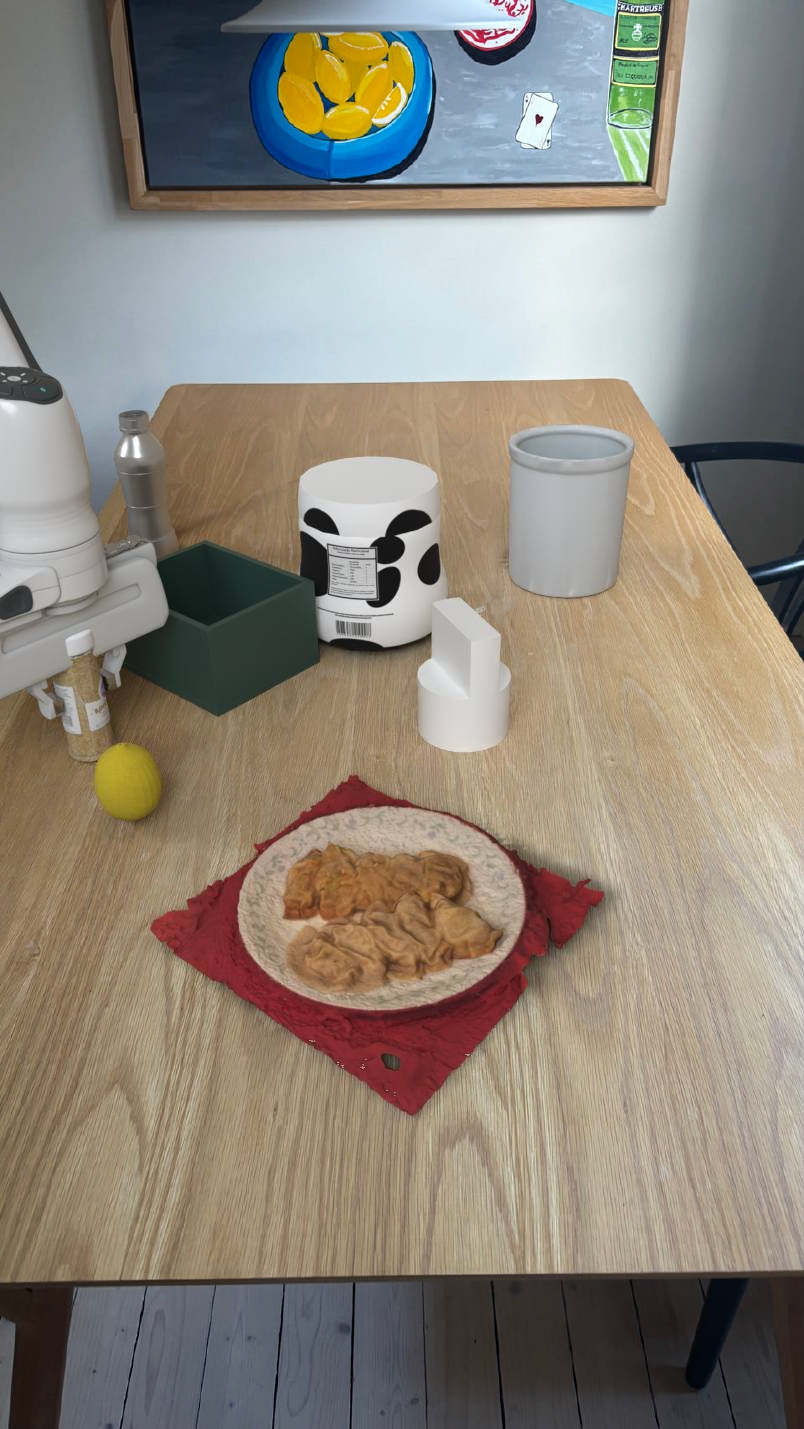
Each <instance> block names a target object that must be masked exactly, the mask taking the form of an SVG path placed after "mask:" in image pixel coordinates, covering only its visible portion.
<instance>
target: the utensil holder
mask: <svg viewBox="0 0 804 1429" xmlns="http://www.w3.org/2000/svg"><path fill="white" fill-rule="evenodd" d="M635 446H636V445H635V440H634V439H633V438H632V437H631V436H630V435H628V434H626V433H625V432H623V431H620V430H617V429H614V428H610V427H604V426H599V425H591V424H578V423H575V424H570V423H566V424H565V423H563V424H561V423H560V424H547V425H539V426H533V427H529V428H526V429H522V430H520V431H517V432H515V433H514V434H512V435H511V436H510V437H509V439H508V454H509V456H510V464H509V465H510V467H509V468H510V470H509V503H508V504H509V505H508V506H509V509H508V573H509V574H508V575H509V577H510V579H511V581H512V582H513V583H514V584H515V585H516V586H518V587H519V588H521V589H522V590H525V591H528V592H530V593H532V594H535V595H541V596H545V597H553V598H563V599H565V598H566V599H570V598H572V599H573V598H582V597H589V596H594V595H597V594H601V593H603V592H605V591H607V590H609V589H611V588H612V587H613V586H614V585H615V583H616V582H617V578H618V571H619V564H620V559H621V558H620V557H621V550H622V543H623V533H624V525H625V515H626V506H627V498H628V492H629V482H630V472H631V462H632V459H633V457H634V455H635Z"/></svg>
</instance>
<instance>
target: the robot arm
mask: <svg viewBox="0 0 804 1429" xmlns="http://www.w3.org/2000/svg"><path fill="white" fill-rule="evenodd" d="M91 484H92V476H91V469H90V463H89V459H88V454H87V449H86V445H85V439H84V436H83V432H82V429H81V425H80V421H79V419H78V415H77V412H76V409H75V407H74V404H73V402H72V400H71V398H70V396H69V394H68V392H67V390H66V389H65V387H64V385H63V384H62V382H60V381H59V380H58V379H57V378H55V377H54V376H52V375H50V374H49V373H46V372H44V371H43V369H42V368H41V366H40V365H39V363H38V361H37V359H36V357H35V356H34V353H33V352H32V350H31V348H30V346H29V345H28V343H27V340H26V338H25V337H24V334H23V333H22V331H21V329H20V327H19V324H18V322H17V321H16V319H15V317H14V315H13V313H12V311H11V309H10V307H9V305H8V303H7V300H6V299H5V297H4V294H2V292H1V290H0V700H3V699H5V698H8V697H10V696H12V695H14V694H16V693H18V692H20V691H23V690H25V691H26V692H28V693H29V694H30V696H32V697H33V698H35V699H36V700H37V703H38V707H39V711H40V714H41V715H42V717H44V718H46V719H48V720H49V721H51V720H53V719H55V718H57V717H61V715H62V714H64V713H65V710H64V708H63V701H62V698H61V697H59V696H56V693H54V692H51V691H50V692H48V693H46V692H45V691H44V690H46V689H48V680H47V679H49V678H53V677H52V676H54V675H56V674H58V673H60V672H63V671H65V670H67V669H69V668H71V667H72V664H73V661H71V659H72V658H73V657H69V656H68V652H67V648H66V642H65V641H66V639H67V638H69V637H71V636H73V635H75V634H77V633H80V632H82V631H85V630H88V629H90V630H92V633H93V638H94V643H95V645H94V647H93V648H91V649H94V651H93V655H94V656H95V657H96V656H97V657H99V656H101V655H102V654H104V653H105V654H104V657H103V662H102V665H101V667H100V668H99V669H100V673H101V676H102V680H103V685H104V690H105V693H109V692H111V691H113V690H115V689H117V688H119V687H121V686H122V682H121V681H122V680H121V676H120V671H121V670H122V664H123V661H124V658H125V655H126V646H125V643H127V642H129V641H131V640H134V639H136V638H138V637H140V636H143V635H145V634H147V633H149V632H151V631H154V630H156V629H158V628H160V627H162V626H164V625H165V623H166V621H167V618H168V615H169V608H168V603H167V599H166V595H165V591H164V588H163V584H162V581H161V578H160V575H159V573H158V570H157V568H156V567H157V560H156V553H155V548H154V546H153V544H152V543H151V542H150V541H149V540H148V539H146V538H143V537H139V536H138V535H132V536H128V535H127V536H126V537H124V538H122V540H118V541H114V542H110V543H107V544H104V541H103V537H102V531H101V530H102V529H101V525H100V521H99V519H98V516H97V514H96V512H95V510H94V509H93V506H92V502H91ZM141 542H142V543H141Z"/></svg>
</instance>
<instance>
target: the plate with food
mask: <svg viewBox="0 0 804 1429" xmlns="http://www.w3.org/2000/svg"><path fill="white" fill-rule="evenodd" d="M253 847H254V849H255V850H256V851H257V853H256V854H255V857H254V858H252V859H251V860H250V861H249V862H247V863H246V864H243V865H242V866H241V867H240V868H239V869H238V870H236V871H235V872H234V873H232V874H231V875H229V876H228V875H227V876H226V877H224V878H223V879H217V880H214V882H213V883H212V884H211V885H210V884H207V885H206V888H205V889H204V890H202V891H201V892H200V893H199V894H197V895H196V896H194V897H190V898H187V899H186V903H187V904H186V905H187V909H177V910H175V909H172V910H169V911H167V912H166V913H164V914H163V915H161V916H160V917H158V918H155V919H154V920H152V923H151V924H150V932H151V933H152V934H153V935H154V936H155V938H156V939H157V940H159V942H160V943H166V945H167V947H168V949H172V950H173V951H172V954H173V955H175V956H176V957H177V958H179V959H181V960H183V961H184V962H186V963H187V964H189V965H190V966H192V967H193V968H195V969H196V970H197V971H198V972H199V973H201V974H203V975H204V976H205V977H207V978H208V979H211V981H213V982H218V983H223V984H225V985H226V986H227V987H228V989H229V990H230V991H232V993H234V994H235V995H236V996H238V997H240V998H241V999H243V1001H246V1002H247V1003H252V1004H253V1005H254V1006H255V1007H257V1009H258V1010H260V1011H262V1012H263V1013H264V1014H265V1015H266V1016H268V1017H269V1018H270V1019H272V1020H273V1021H274V1022H275V1023H277V1024H279V1025H281V1026H282V1027H284V1028H285V1029H287V1030H288V1031H289V1032H290V1033H291V1034H293V1035H294V1036H295V1037H296V1038H297V1039H299V1040H300V1041H301V1042H303V1043H304V1044H307V1045H308V1046H312V1047H313V1048H314V1049H315V1050H316V1051H320V1052H321V1053H323V1054H324V1055H326V1056H327V1057H328V1058H330V1059H331V1060H332V1062H334V1064H335V1065H336V1066H337V1067H339V1068H340V1069H342V1070H345V1071H346V1072H347V1073H349V1074H350V1075H351V1076H355V1077H356V1078H357V1080H359V1081H360V1082H362V1081H363V1082H365V1083H366V1085H368V1087H369V1088H370V1090H371V1091H373V1092H376V1093H377V1094H378V1095H379V1096H380V1097H381V1098H382V1099H383V1100H385V1101H386V1102H388V1103H389V1104H392V1105H393V1106H394V1107H395V1108H397V1109H398V1110H400V1111H402V1112H405V1113H406V1114H407V1115H409V1116H410V1117H411V1116H412V1117H414V1116H415V1115H416V1114H417V1113H418V1111H419V1110H423V1107H424V1106H425V1104H426V1103H427V1102H428V1100H429V1099H431V1098H432V1097H433V1095H434V1093H435V1092H437V1091H438V1090H439V1089H441V1088H442V1087H443V1084H444V1082H445V1081H446V1079H447V1077H449V1075H450V1074H451V1073H452V1072H453V1071H454V1070H458V1069H459V1068H460V1066H461V1065H462V1064H463V1063H464V1062H465V1061H466V1059H467V1058H468V1057H469V1056H467V1055H465V1054H470V1056H471V1054H472V1053H473V1051H474V1050H475V1049H476V1048H477V1045H480V1043H481V1042H483V1041H484V1040H485V1037H487V1035H488V1034H489V1033H491V1031H492V1029H493V1028H494V1027H495V1026H496V1025H497V1024H498V1023H499V1022H500V1020H501V1019H502V1018H503V1017H505V1016H506V1014H508V1012H509V1010H510V1009H512V1008H513V1006H514V1005H515V1004H516V1003H517V1002H518V1000H519V999H520V997H521V996H522V994H523V993H524V991H525V989H526V987H527V985H528V983H529V982H528V980H529V979H528V978H527V977H525V973H524V971H523V969H524V967H525V966H528V965H529V964H531V962H532V960H531V956H532V955H535V957H539V956H540V958H542V957H544V956H545V954H546V953H547V952H548V951H549V948H548V943H549V935H550V937H551V940H552V942H553V943H554V945H555V946H554V947H556V948H557V949H558V950H561V949H563V946H564V945H565V944H567V943H568V941H569V940H570V939H571V938H572V937H573V936H574V934H576V931H577V930H578V929H580V928H581V926H582V925H583V923H584V921H585V919H586V917H587V915H588V913H589V910H590V909H591V906H592V907H593V908H595V907H598V906H599V905H600V904H601V901H602V900H603V898H604V895H605V892H604V891H603V890H596V889H595V890H594V889H590V888H588V887H586V885H588V884H590V882H592V879H591V878H586V879H584V880H580V881H577V882H576V886H573V885H572V884H571V881H570V880H568V879H566V878H564V877H561V876H559V875H557V874H554V873H553V872H551V871H549V870H548V869H547V868H546V867H544V866H543V867H540V868H539V869H538V868H537V867H534V865H533V864H532V863H528V861H527V860H524V859H522V858H521V857H520V856H519V855H518V850H517V849H512V850H510V849H508V848H506V847H505V846H504V845H502V844H501V843H500V842H499V840H497V838H496V837H495V836H494V835H492V834H491V833H489V832H487V831H486V830H485V829H483V828H481V827H480V826H479V825H476V824H474V823H473V822H471V821H470V822H469V821H467V820H466V819H464V818H462V817H461V816H459V814H457V815H456V814H453V813H451V812H449V811H445V810H443V811H441V810H437V809H430V808H428V807H426V806H425V807H423V806H419V805H417V804H414V803H412V802H410V801H408V800H407V799H404V798H403V799H400V798H394V797H392V796H389V795H388V794H386V793H384V792H382V791H379V790H377V789H375V788H374V787H372V786H370V785H368V784H367V783H366V782H365V781H362V780H361V779H360V777H359V776H358V774H354V775H352V774H349V775H348V777H347V780H346V781H340V783H339V784H338V786H337V787H336V788H335V789H334V788H332V789H330V790H329V791H328V793H327V794H326V795H325V796H324V797H323V799H321V800H319V801H318V802H316V803H315V804H313V805H310V810H308V811H307V810H302V812H301V813H300V814H299V816H298V818H297V819H295V820H294V821H293V822H292V823H290V824H289V825H288V826H287V827H285V828H284V829H283V830H281V831H280V832H278V833H276V835H275V836H273V837H271V838H268V839H267V840H265V841H263V842H261V843H259V844H258V843H255V842H254V843H253ZM193 893H194V894H195V893H196V892H195V891H194V892H193ZM547 918H548V919H547ZM548 921H549V923H550V929H551V931H550V929H549V923H548ZM549 933H550V934H549ZM309 1040H313V1041H314V1040H315V1042H311V1041H309ZM383 1054H387V1055H388V1054H389V1055H392V1056H394V1057H396V1058H398V1059H399V1060H400V1064H399V1068H398V1069H396V1070H393V1069H390V1068H386V1065H385V1063H384V1061H383V1060H382V1055H383ZM365 1059H367V1060H365ZM337 1062H339V1063H337ZM337 1064H339V1065H337ZM362 1064H364V1066H363V1065H362ZM341 1065H344V1066H343V1067H344V1068H342V1066H341ZM362 1066H363V1067H365V1068H364V1069H362V1068H360V1067H362ZM386 1090H388V1091H386ZM394 1092H396V1093H394ZM394 1095H395V1096H394Z"/></svg>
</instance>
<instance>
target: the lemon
mask: <svg viewBox="0 0 804 1429" xmlns="http://www.w3.org/2000/svg"><path fill="white" fill-rule="evenodd" d="M93 785H94V790H95V794H96V798H97V801H98V802H99V804H100V806H101V808H103V810H104V811H105V813H107V814H108V815H109V816H111V817H113V818H115V819H117V820H120V821H122V822H123V821H125V822H137V821H139V820H141V819H144V818H145V817H147V816H148V815H150V814H151V813H152V812H153V811H154V810H155V809H156V807H157V806H158V804H159V802H160V800H161V795H162V792H163V791H162V790H163V782H162V775H161V771H160V768H159V766H158V763H157V762H156V760H155V758H154V757H153V755H152V754H151V752H149V751H148V749H146V748H144V747H143V746H142V745H140V744H137V743H133V742H118V743H116V745H114V746H112V747H110V748H108V749H107V750H106V751H105V752H104V753H103V754H102V755H101V756H100V758H99V760H98V761H96V764H95V768H94V775H93Z"/></svg>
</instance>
